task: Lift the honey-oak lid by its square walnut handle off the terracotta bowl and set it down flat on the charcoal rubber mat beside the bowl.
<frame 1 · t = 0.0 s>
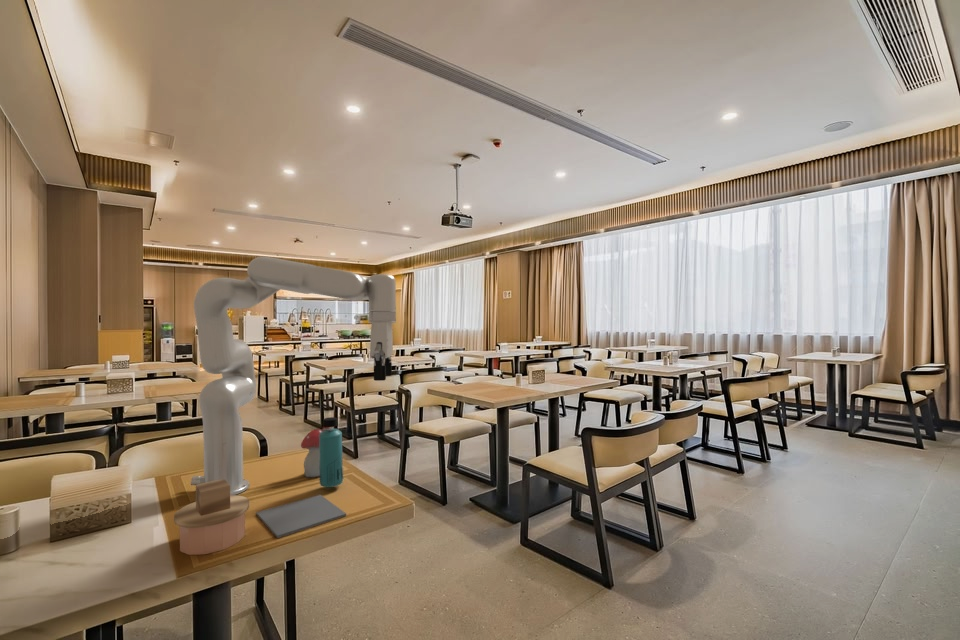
hand: (383, 377, 125), 31 cm above the table, tool pointing down, fingers open, 9 cm apart
beverage bottle: (331, 489, 125), on the table
decorative ornament: (317, 474, 137), on the table
mat: (301, 515, 108), on the table
lid: (213, 512, 96), point 6 cm above the table, touching bowl
bowl: (213, 539, 96), on the table
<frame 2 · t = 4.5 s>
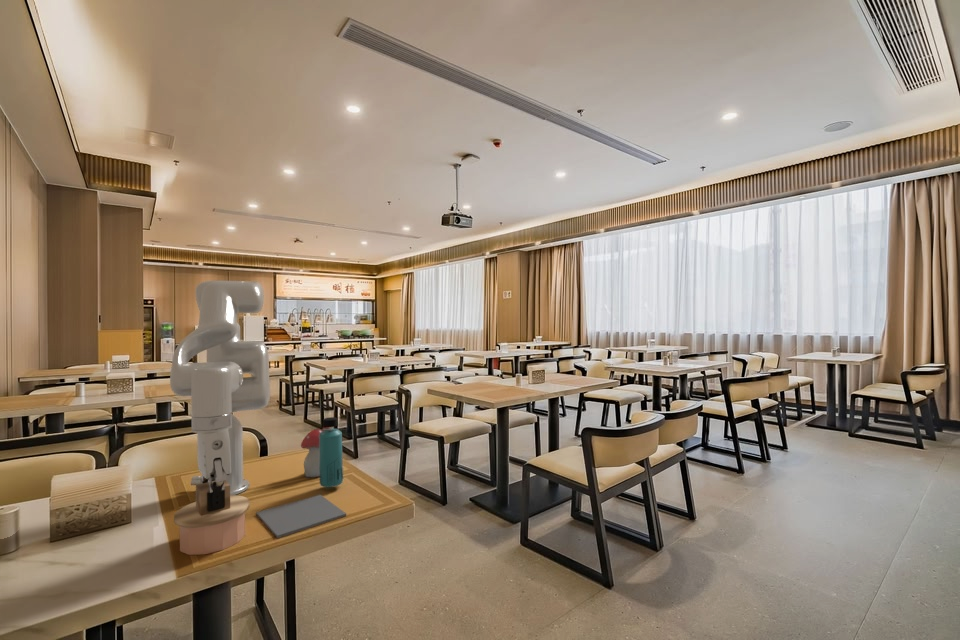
hand: (213, 504, 96), 8 cm above the table, tool pointing down, fingers closed on lid, 5 cm apart
lid: (213, 512, 96), point 6 cm above the table, touching bowl, gripper
everything else where it was.
when the fingers open (4 cm above the table, at t = 13.6 s): lid drops 1 cm, resting on mat.
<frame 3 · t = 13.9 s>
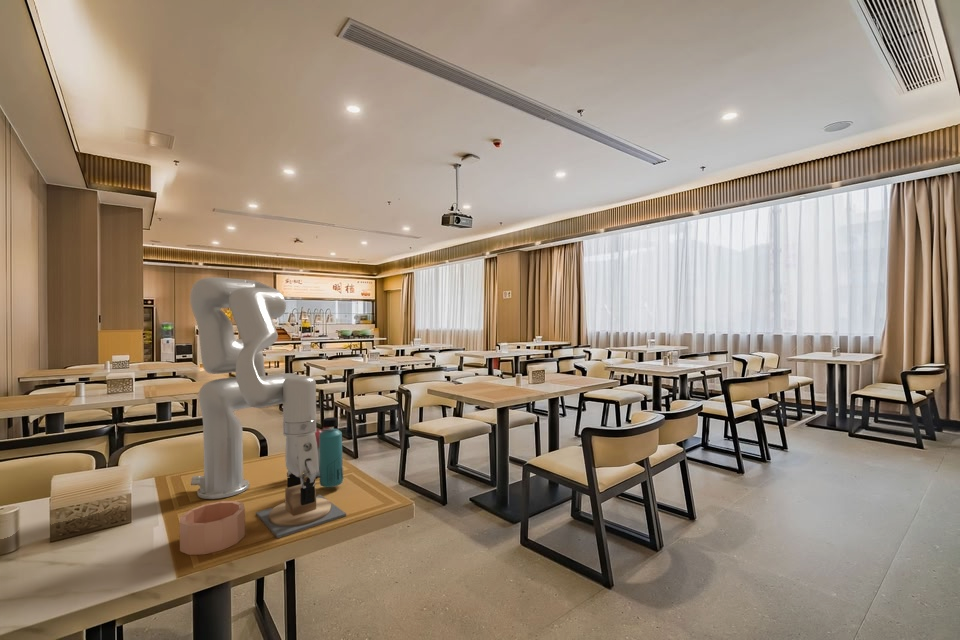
hand: (300, 497, 108), 4 cm above the table, tool pointing down, fingers open, 8 cm apart
lid: (300, 512, 108), point 1 cm above the table, touching mat
everything else where it was.
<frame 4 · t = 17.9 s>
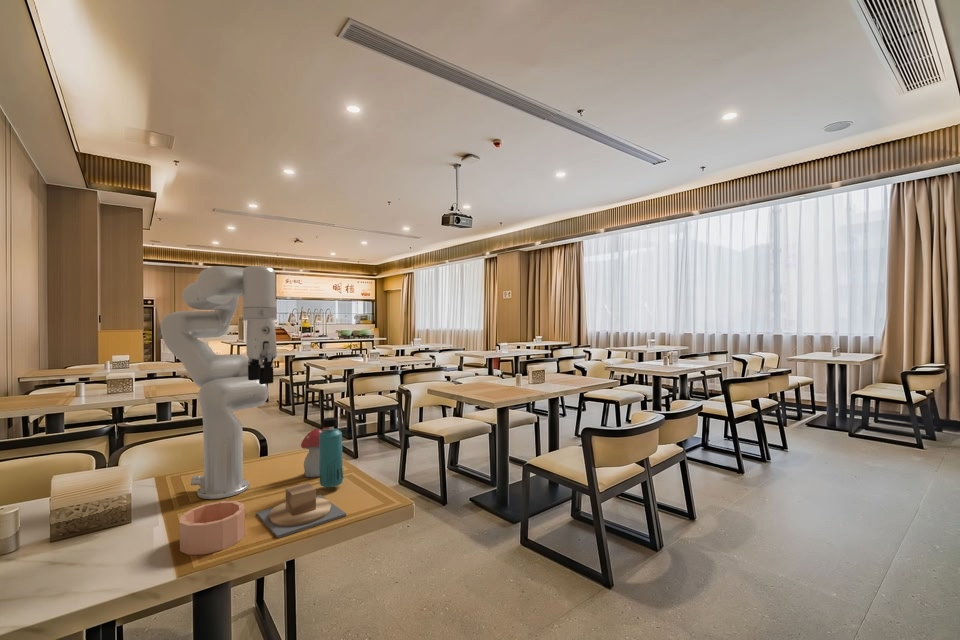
hand: (260, 381, 112), 32 cm above the table, tool pointing down, fingers open, 9 cm apart
nothing on the table moved.
at the end: lid inside the target area on the mat (0.0 cm from its centre), point 0.6 cm above the mat's base; lid tilted 0°; lid touching mat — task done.
